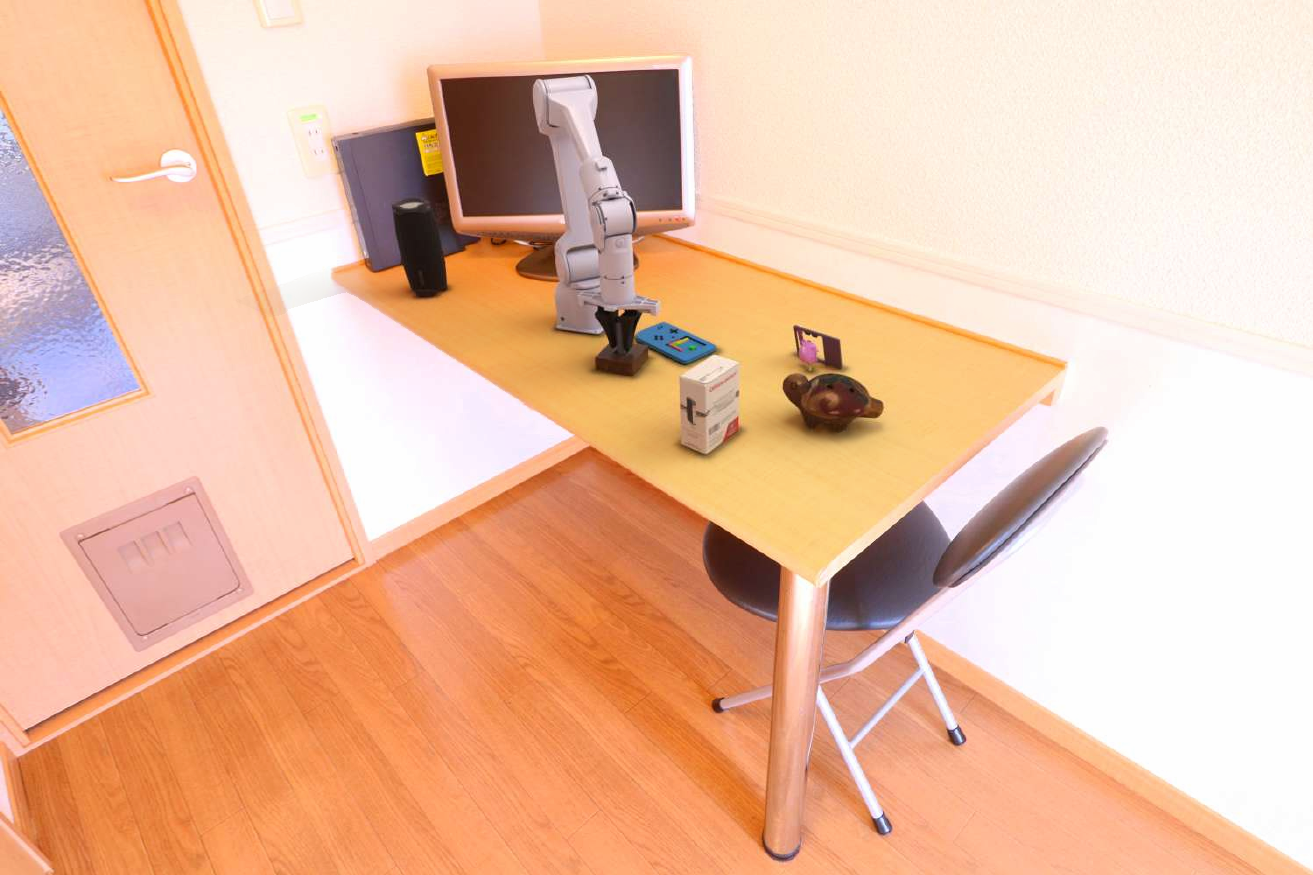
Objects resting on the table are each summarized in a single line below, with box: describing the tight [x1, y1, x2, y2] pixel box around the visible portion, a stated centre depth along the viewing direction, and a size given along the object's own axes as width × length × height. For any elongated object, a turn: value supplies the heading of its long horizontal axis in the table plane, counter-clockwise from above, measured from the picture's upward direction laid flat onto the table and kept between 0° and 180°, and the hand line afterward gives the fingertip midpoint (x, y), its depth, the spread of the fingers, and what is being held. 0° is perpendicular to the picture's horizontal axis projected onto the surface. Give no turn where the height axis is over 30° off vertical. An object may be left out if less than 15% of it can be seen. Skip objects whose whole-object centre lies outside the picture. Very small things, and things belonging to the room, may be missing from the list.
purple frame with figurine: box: [792, 324, 844, 372], centre depth 123 cm, size 7×5×9 cm
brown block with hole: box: [594, 342, 649, 377], centre depth 127 cm, size 7×7×3 cm
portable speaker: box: [391, 196, 448, 298], centre depth 154 cm, size 9×9×20 cm
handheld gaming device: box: [635, 321, 717, 365], centre depth 133 cm, size 8×1×15 cm
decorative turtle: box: [782, 372, 885, 433], centre depth 108 cm, size 10×15×8 cm, turn 84°
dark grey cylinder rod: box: [615, 315, 627, 355], centre depth 125 cm, size 2×2×9 cm
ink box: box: [678, 354, 741, 455], centre depth 104 cm, size 8×5×12 cm, turn 140°
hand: (621, 347), depth 126 cm, fingers closed
